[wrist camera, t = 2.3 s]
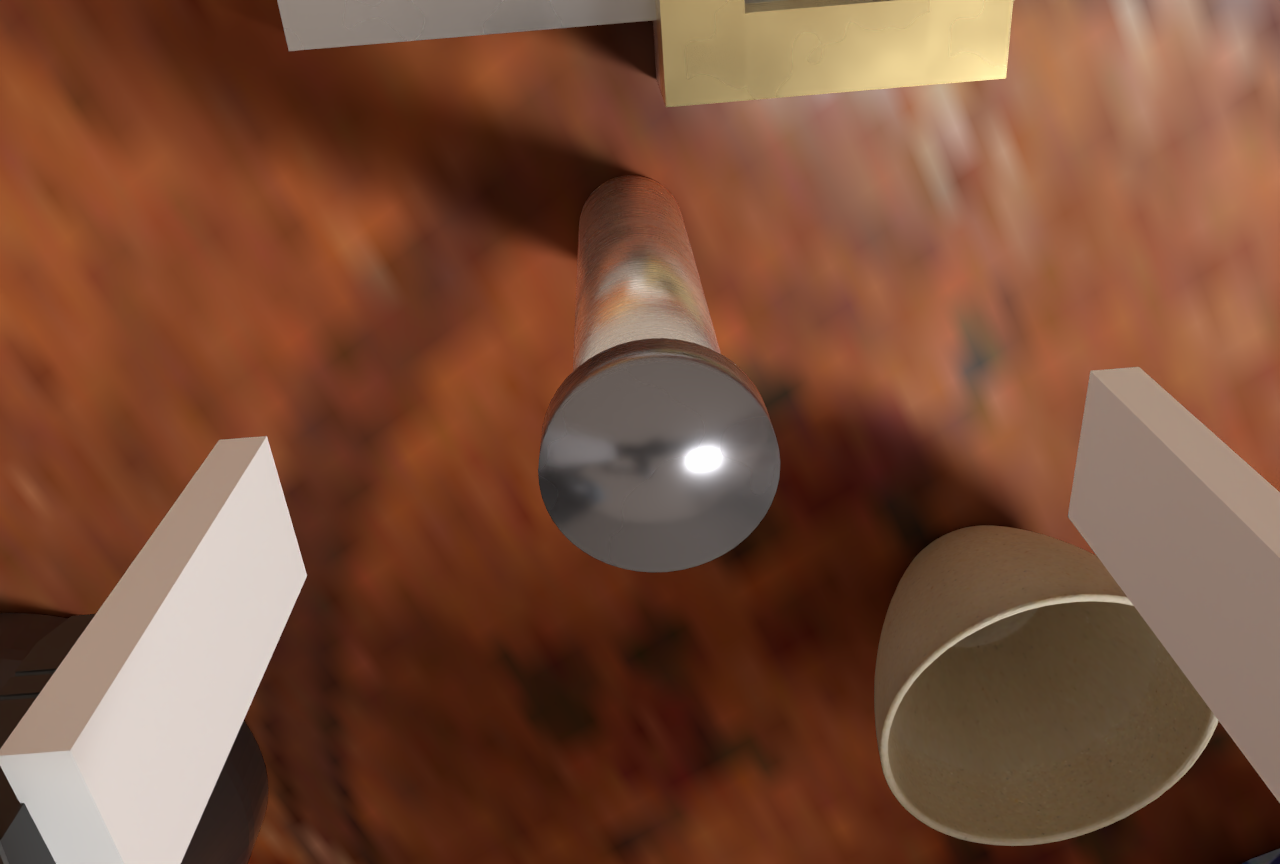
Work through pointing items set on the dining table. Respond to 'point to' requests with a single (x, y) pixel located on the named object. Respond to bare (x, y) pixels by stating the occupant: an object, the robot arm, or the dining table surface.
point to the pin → (651, 400)
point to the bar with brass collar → (713, 38)
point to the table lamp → (1266, 858)
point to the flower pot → (1026, 693)
